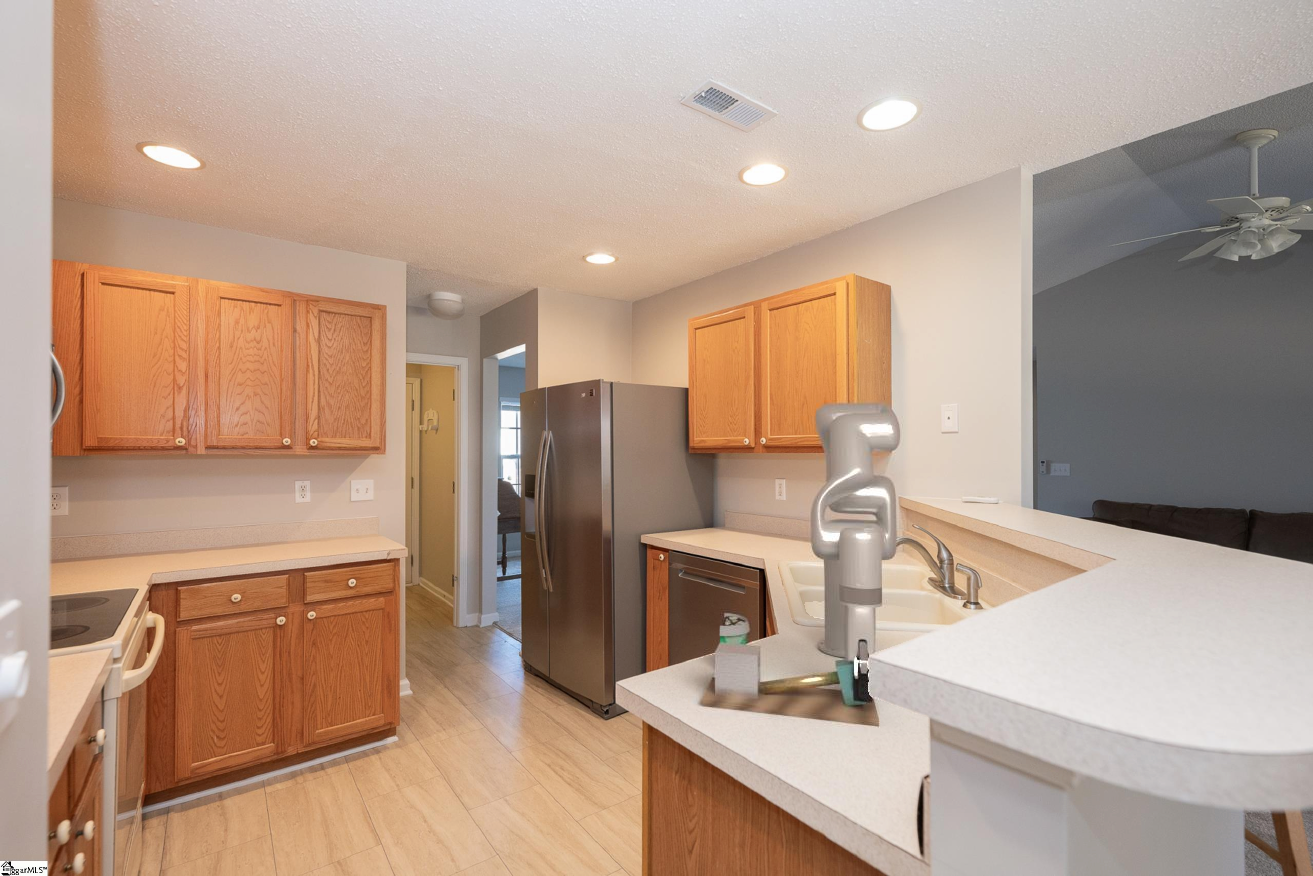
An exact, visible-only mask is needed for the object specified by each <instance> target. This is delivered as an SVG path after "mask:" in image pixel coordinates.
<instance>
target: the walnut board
mask: <svg viewBox="0 0 1313 876" xmlns="http://www.w3.org/2000/svg"><path fill="white" fill-rule="evenodd" d="M762 682H763V681H760V691H759V695H758V699H753V698H744V697H735V696H725V695H716V694H715V676H712V677H711V679H710V681H709V684H708V685H707V687H706V689H705V691H704V693H703V696H702V698H701V706H702V707H708V708H709V707H710V708H717V709H724V710H725V709H728V710H736V711H744V712H752V713H760V714H768V715H769V714H770V715H778V716H786V717H787V716H788V717H796V718H804V719H813V720H821V721H828V722H829V721H831V722H839V723H848V724H855V725H862V726H863V725H864V726H873V727H880V719H879V714H878V709H877V707H876V702H875V699H873V698H874V697H873V698H872V702H871V703H869V702H866V704H859V705H852V706H846V705H845V701H844V697H843V693H842V689H835V688H834V689H833V688H832V689H831V688H825V687H824V688H823V687H813V688H806V689H799V690H791V691H784V692H777V693H770V694H764V692H763V687H762Z"/></svg>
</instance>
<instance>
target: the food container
mask: <svg viewBox="0 0 1313 876" xmlns="http://www.w3.org/2000/svg"><path fill="white" fill-rule="evenodd" d="M723 616H724V617H723V621H722V624H721V625H719V644H720V643H732V644H743V645H747V636H748V634H747V633H749V632H750V630H751V628H750V623H749V621H748V618H746V617H745V616H742V615H739V614H735V613H729V612H728V613H727V612H724V615H723Z"/></svg>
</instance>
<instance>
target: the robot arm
mask: <svg viewBox="0 0 1313 876" xmlns="http://www.w3.org/2000/svg"><path fill="white" fill-rule="evenodd" d="M814 417H815V419H814V420H815V428H816V432H817V435H818V438H819V441H820V444H821V446H822V448H823V451H824V455H825V471H826V472H825V473H826V474H825V479H826V480H825V482H826V483H825V484H824V485H823V486H822V487H821V489H819V490H818V493H816V495H815V498H814V499H813V502H812V504H811V505H812V506H811V510H810V544H811V550H812V552H813V554H814V555H815V556H816V557H817V558H818V559H820V560H823V569H824V570H823V573H824V577H823V578H824V582H823V583H824V586H823V587H824V639H822V640H820V641H818V643H817V647H818V650H820V651H821V652H822V653H823V654H827V655H830V656H833V657H834V656H835V657H838V658H839V657H840V658H845V659H846V660H847V661H848V662H850V660H851V661H854V673H855V677H853V699H854V701H859V702H869V703H871V702H872V697H871V696H870V695H869V692H868V682H869V668H868V658H869V655H871V654H874V653H875V654H876V628H877V627H876V624H877V623H876V619H877V618H876V609H878V608H880V607H882V606H883V580H882V579H883V578H882V577H883V573H882V572H883V569H882V568H883V562H882V561H889V560H892V559H893V558H894V557H895V555H896V553H897V547H898V544H897V543H898V542H897V541H898V537H897V536H898V534H897V530H898V528H897V499H896V498H897V496H896V489H895V485H894V483H893V481H892V479H891V478H889V477H888V476H885V475H877V474H875V475H874V466H873V465H874V464H873V454H872V452H893V451H895V450H896V449H898V447H899V445H900V442H901V429H900V428H901V427H900V422H899V420H898V417H897V415H896V413H895V412H894V410H893V409H892V407H891V405H889V404H888V403H884V402H862V403H861V402H841V403H839V402H837V403H829V404H824V405H821V406H820V407H818V409H817V410H816V412H815V416H814ZM827 508H828V509H829V510H830V511H831V512H834V513H837V514H848V515H872V516H874V517H875V520H873V519H854V518H853V519H852V518H851V519H848V518H847V519H846V518H836V519H830V520H828V521H826V520H825V515H826V514H825V512H826V510H827Z"/></svg>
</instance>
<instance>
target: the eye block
mask: <svg viewBox="0 0 1313 876" xmlns="http://www.w3.org/2000/svg"><path fill="white" fill-rule="evenodd" d="M714 655H715V656H714V677H715V694H716V695H725V696H735V697H744V698H753V699H758V695H759V691H760V682H761V645H755V644H754V645H752V644H751V645H750V644H746V645H743V644H732V643H720V642H719V643H718V645H717V648H716V649H715V651H714Z"/></svg>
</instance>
